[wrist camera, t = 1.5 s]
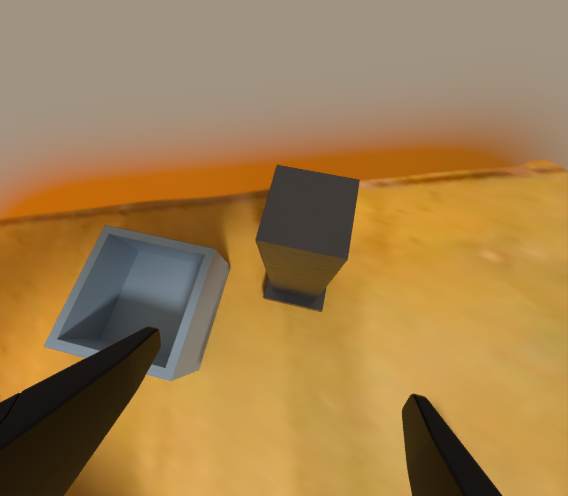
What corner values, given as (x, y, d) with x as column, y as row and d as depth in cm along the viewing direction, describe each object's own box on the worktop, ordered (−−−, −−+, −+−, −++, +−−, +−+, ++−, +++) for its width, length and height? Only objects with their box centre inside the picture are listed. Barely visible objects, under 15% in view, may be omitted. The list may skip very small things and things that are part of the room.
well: (198, 370, 20) (170, 381, 15) (99, 343, 21) (43, 346, 16) (230, 266, 23) (215, 248, 18) (141, 246, 24) (104, 225, 19)
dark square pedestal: (320, 311, 21) (363, 281, 9) (264, 298, 22) (233, 253, 10) (330, 257, 23) (378, 168, 11) (277, 246, 23) (265, 149, 11)
